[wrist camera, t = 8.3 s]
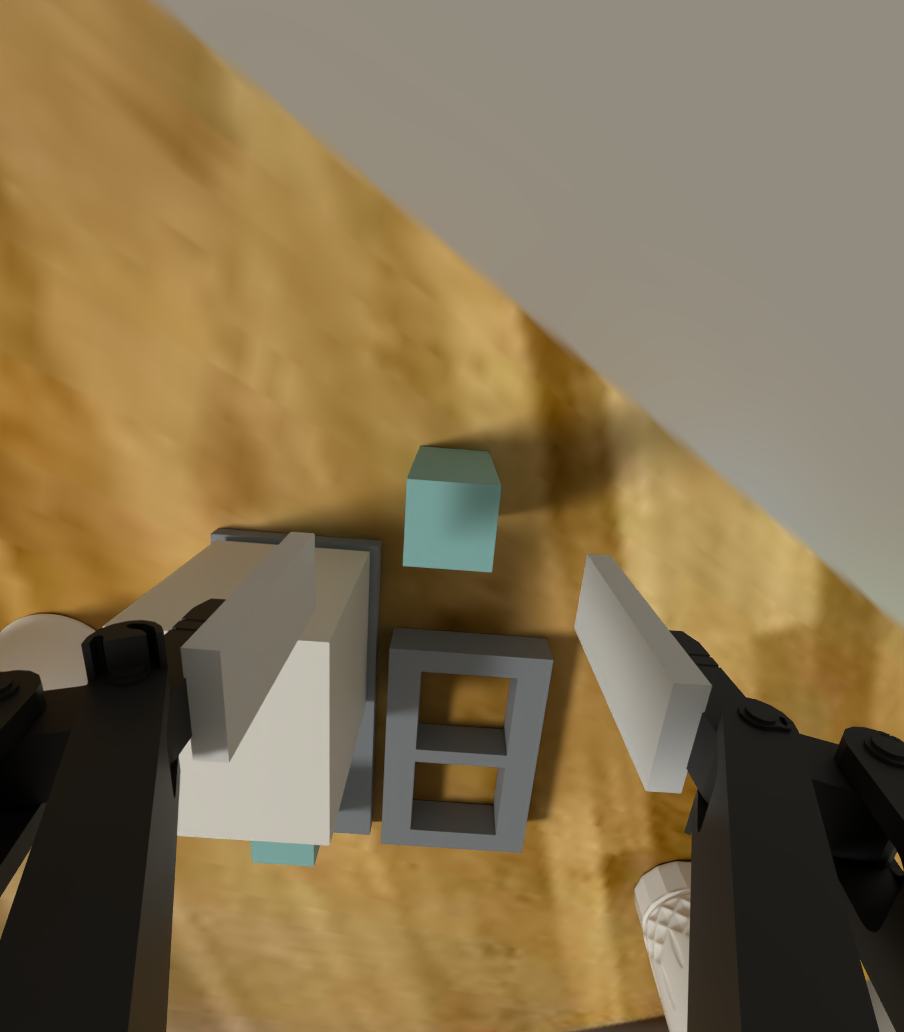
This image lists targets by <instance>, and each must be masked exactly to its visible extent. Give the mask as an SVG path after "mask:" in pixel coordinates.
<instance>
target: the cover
mask: <svg viewBox="0 0 904 1032" xmlns="http://www.w3.org/2000/svg"><path fill="white" fill-rule="evenodd" d="M277 546H278V545H274V544H261V543H248V542H234V541H221V540H216V541H214V542H213V543H212V544H210V545H209V546H208V547H206V548H205V549H204V550H202V551H201V552H200V553H198V554H197V555H196V556H195V557H193V558H192V559H191V560H189V561H188V562H187V563H185V564H184V565H183V566H181V567H180V568H179V569H177V570H176V571H175V572H173V573H172V574H171V575H169V576H168V577H167V578H165V579H164V580H163V581H162V582H160V583H159V584H158V585H156V586H155V587H154V588H152V589H151V590H150V591H148V592H147V593H146V594H144V595H143V596H142V597H140V598H139V599H138V600H136V601H135V602H134V603H132V604H131V605H130V606H129V607H127V608H126V609H125V610H123V611H122V612H121V613H119V614H118V615H117V616H115V617H114V618H113V619H111V620H110V621H109V622H107V623H106V624H105V625H103V626H102V627H103V628H104V627H106V626H109V625H112V624H115V623H120V622H125V621H133V620H146V621H153V622H156V623H158V624H159V625H161V626H162V628H163V631H164V635H165V634H166V633H167V632H168V631H169V630H172V627H173V626H174V625H175V624H176V623H177V622H178V621H181V620H182V618H183V617H184V616H185V615H186V614H187V613H188V612H189V611H190V610H191V609H192V608H193V607H195V606H197V605H199V604H201V603H203V602H205V601H207V600H209V599H211V598H214V599H227V598H228V597H229V596H230V595H231V594H232V593H233V592H234V591H235V590H236V589H237V588H238V587H239V586H240V585H241V584H242V583H243V582H244V580H245V579H246V578H247V577H248V576H249V575H250V574H251V573H252V572H253V571H254V570H255V569H256V568H257V567H258V566H259V565H260V564H261V563H262V562H263V561H264V559H265V558H266V557H267V556H268V555H269V554H270V553H271V552H272V551H273V550H274V549H275V548H276V547H277ZM369 567H370V552H368V551H355V550H341V549H328V548H315V611H314V613H313V614H312V616H311V618H310V620H309V621H308V623H307V625H306V627H305V629H304V630H303V632H302V634H301V636H300V637H299V639H298V641H297V643H296V645H295V646H294V648H293V650H292V652H291V654H290V655H289V657H288V659H287V661H286V662H285V664H284V666H283V668H282V670H281V671H280V673H279V675H278V677H277V679H276V680H275V682H274V684H273V686H272V687H271V689H270V691H269V693H268V695H267V696H266V698H265V700H264V702H263V703H262V705H261V707H260V709H259V711H258V712H257V714H256V716H255V718H254V720H253V721H252V723H251V725H250V727H249V728H248V730H247V732H246V734H245V736H244V737H243V739H242V741H241V743H240V744H239V746H238V748H237V750H236V752H235V753H234V755H233V757H232V759H231V761H230V762H229V763H223V762H208V761H194V760H193V758H192V749H191V739H190V740H189V741H188V743H187V744H186V746H185V747H184V749H183V750H182V751H181V753H180V754H179V762H180V770H181V773H180V791H179V809H178V826H177V836H188V837H203V838H219V839H234V840H250V841H265V842H281V843H296V844H311V845H327V846H330V842H331V838H332V834H333V830H334V827H335V823H336V819H337V815H338V811H339V807H340V803H341V800H342V796H343V792H344V788H345V784H346V780H347V777H348V773H349V769H350V765H351V761H352V757H353V753H354V750H355V746H356V742H357V738H358V734H359V730H360V726H361V723H362V719H363V715H364V711H365V707H366V678H367V641H368V604H369Z"/></svg>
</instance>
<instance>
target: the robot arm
mask: <svg viewBox="0 0 904 1032" xmlns="http://www.w3.org/2000/svg"><path fill="white" fill-rule="evenodd" d="M314 611H315V533H302V532H290V533H289V534H288V535H287V536H286V537H285V538H284V540H283V541H282V542H281V543H280V544H279V545H278V546H277V547H276V548H275V549H274V550H273V551H272V552H271V553H270V554H269V555H268V556H267V557H266V558H265V559H264V561H263V562H262V563H261V564H260V565H259V566H258V567H257V568H256V569H255V570H254V571H253V572H252V573H251V574H250V575H249V576H248V577H247V578H246V579H245V580H244V582H243V583H242V584H241V585H240V586H239V587H238V588H237V589H236V590H235V591H234V592H233V593H232V594H231V595H230V596H229V597H228V598H227V599H214V598H211V599H209V600H207V601H205V602H203V603H201V604H199V605H197V606H195V607H193V608H192V609H191V610H190V611H189V612H188V613H187V614H186V615H185V616H184V617H183V618H182V620H181V621H178V622H177V623H176V624H175V625H174V626H173V627H172V630H169V631H168V632H167V633H166V634H165V635H164V631H163V628H162V626H161V625H159V624H158V623H156V622H153V621H146V620H133V621H125V622H120V623H115V624H112V625H109V626H106V627H104V628H101V629H98V630H97V631H95V632H94V633H92V634H90V635H89V636H87V637H86V639H85V640H84V641H83V642H82V644H81V647H82V653H83V658H84V664H85V669H86V675H87V680H88V683H87V685H83V686H77V687H70V688H62V689H54V690H46V691H43V687H42V682H41V679H40V676H39V674H37V673H34V672H32V671H26V670H13V671H6V672H0V897H1V895H2V893H3V892H4V890H5V889H6V887H7V885H8V884H9V882H10V881H11V879H12V877H13V876H14V874H15V873H16V871H17V870H18V868H19V866H20V865H21V863H22V862H23V860H24V858H25V857H26V855H27V854H28V852H29V850H30V849H31V851H30V854H29V857H28V860H27V863H26V866H25V869H24V871H23V874H22V877H21V880H20V883H19V886H18V889H17V892H16V895H15V898H14V901H13V904H12V907H11V910H10V913H9V916H8V919H7V922H6V924H5V927H4V930H3V933H2V936H1V939H0V1032H166V1024H167V1006H168V988H169V970H170V952H171V934H172V916H173V898H174V880H175V862H176V844H177V826H178V809H179V791H180V773H181V770H180V762H179V754H180V753H181V751H182V750H183V749H184V747H185V746H186V744H187V743H188V741H189V740H190V739H191V749H192V758H193V760H194V761H208V762H223V763H229V762H230V761H231V759H232V757H233V755H234V753H235V752H236V750H237V748H238V746H239V744H240V743H241V741H242V739H243V737H244V736H245V734H246V732H247V730H248V728H249V727H250V725H251V723H252V721H253V720H254V718H255V716H256V714H257V712H258V711H259V709H260V707H261V705H262V703H263V702H264V700H265V698H266V696H267V695H268V693H269V691H270V689H271V687H272V686H273V684H274V682H275V680H276V679H277V677H278V675H279V673H280V671H281V670H282V668H283V666H284V664H285V662H286V661H287V659H288V657H289V655H290V654H291V652H292V650H293V648H294V646H295V645H296V643H297V641H298V639H299V637H300V636H301V634H302V632H303V630H304V629H305V627H306V625H307V623H308V621H309V620H310V618H311V616H312V614H313V613H314ZM574 628H575V631H576V633H577V635H578V637H579V640H580V642H581V644H582V647H583V649H584V651H585V653H586V656H587V658H588V660H589V663H590V665H591V667H592V669H593V672H594V674H595V676H596V679H597V681H598V683H599V685H600V688H601V690H602V692H603V694H604V697H605V699H606V701H607V704H608V706H609V708H610V710H611V713H612V715H613V717H614V720H615V722H616V724H617V726H618V729H619V731H620V733H621V736H622V738H623V740H624V742H625V745H626V747H627V749H628V751H629V754H630V756H631V758H632V761H633V763H634V765H635V767H636V770H637V772H638V774H639V777H640V779H641V781H642V783H643V786H644V788H645V790H646V791H653V792H668V793H681V792H682V789H683V785H684V782H685V778H686V775H687V771H688V772H689V774H690V776H691V777H692V779H693V781H694V783H695V785H696V786H697V788H698V789H697V792H696V796H695V799H694V802H693V805H692V809H691V812H690V815H689V819H688V822H687V825H686V829H685V832H684V833H686V834H689V835H690V834H691V832H692V852H691V893H690V933H689V974H688V1014H687V1032H879V1028H878V1025H877V1021H876V1017H875V1013H874V1010H873V1006H872V1002H871V999H870V995H869V991H868V988H867V984H866V980H865V976H864V973H863V969H862V965H861V962H862V964H863V966H864V968H865V970H866V972H867V974H868V976H869V978H870V980H871V982H872V984H873V986H874V988H875V990H876V992H877V994H878V996H879V998H880V1000H881V1002H882V1004H883V1006H884V1008H885V1010H886V1012H887V1014H888V1016H889V1018H890V1021H891V1023H892V1025H893V1026H894V1028H895V1030H896V1032H904V872H903V871H902V869H901V868H900V866H899V865H898V863H897V862H896V860H895V859H894V857H895V855H896V853H897V852H898V854H899V856H900V858H901V861H902V865H903V868H904V742H903V741H901V740H900V739H898V738H896V737H894V736H890V735H889V734H887V733H884V732H882V731H876V730H873V729H869V728H865V727H851V728H847V729H845V731H844V734H843V736H842V739H841V741H840V743H839V744H835V743H831V742H828V741H824V740H820V739H817V738H813V737H809V736H806V735H802V734H799V732H798V730H797V728H796V726H795V724H794V723H793V722H792V721H791V720H790V719H789V718H788V717H787V716H786V715H785V714H784V713H782V712H781V711H779V710H777V709H776V708H774V707H772V706H771V705H768V704H766V703H763V702H761V701H759V700H756V699H751V698H747V697H745V696H744V695H743V693H742V692H741V691H740V690H739V689H738V688H737V686H736V685H735V684H734V683H733V682H732V681H731V679H730V678H729V677H728V676H727V675H726V674H725V672H724V671H723V670H722V669H721V668H719V667H718V664H717V663H716V662H715V661H714V659H713V658H712V657H710V655H709V654H708V652H707V651H706V650H705V649H704V648H703V647H702V645H701V644H700V643H699V642H697V641H696V640H694V639H693V638H691V637H690V636H688V635H687V634H686V633H684V632H683V631H671V630H668V629H667V627H666V626H665V625H664V623H663V622H662V621H661V620H660V618H659V617H658V616H657V614H656V613H655V612H654V611H653V609H652V608H651V607H650V606H649V604H648V603H647V602H646V600H645V599H644V598H643V597H642V595H641V594H640V593H639V591H638V590H637V589H636V588H635V586H634V585H633V584H632V583H631V581H630V580H629V579H628V577H627V576H626V575H625V574H624V572H623V571H622V570H621V568H620V567H619V566H618V565H617V563H616V562H615V561H614V560H613V558H612V557H611V556H607V555H594V554H587V559H586V564H585V570H584V576H583V581H582V587H581V593H580V598H579V604H578V610H577V615H576V621H575V627H574ZM31 847H32V848H31ZM860 960H861V962H860Z"/></svg>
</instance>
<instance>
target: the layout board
mask: <svg viewBox="0 0 904 1032" xmlns="http://www.w3.org/2000/svg"><path fill="white" fill-rule="evenodd" d="M287 535H288V533H275V532H261V531H248V530H235V529H221V528H218V529H217V530H215V531H214V532H213V533H211V544H212V543H213V542H214V541H216V540H221V541H234V542H248V543H261V544H274V545H279V544H280V543H281V542H282V541H283V540H284V538H285V537H286V536H287ZM315 548H328V549H341V550H355V551H368V552H370V567H369V604H368V641H367V678H366V707H365V711H364V715H363V719H362V723H361V726H360V730H359V734H358V738H357V742H356V746H355V750H354V753H353V757H352V761H351V765H350V769H349V773H348V777H347V780H346V784H345V788H344V792H343V796H342V800H341V803H340V807H339V811H338V815H337V819H336V823H335V827H334V830H333V832H334V833H350V834H365V835H370V831H371V826H372V810H373V782H374V753H375V725H376V696H377V668H378V640H379V611H380V583H381V554H382V541H381V540H368V539H354V538H341V537H328V536H315ZM319 847H320V845H311V844H296V843H281V842H265V841H251V854H252V862H253V863H269V864H285V865H300V866H314V865H315V861H316V857H317V854H318V850H319Z"/></svg>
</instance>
